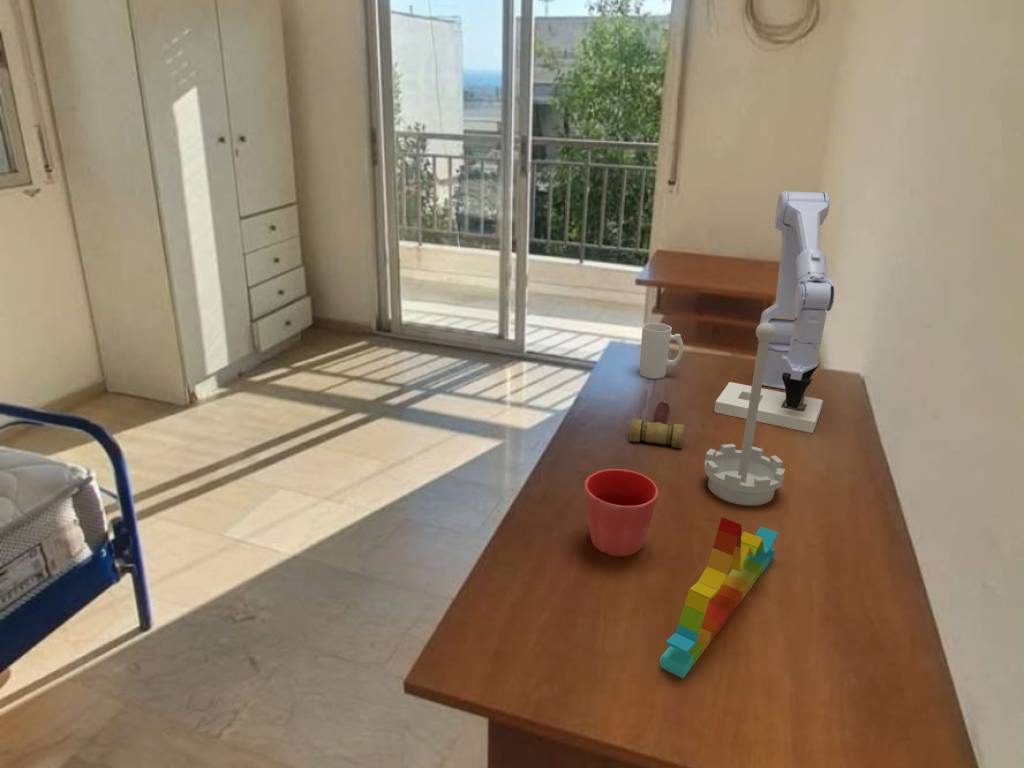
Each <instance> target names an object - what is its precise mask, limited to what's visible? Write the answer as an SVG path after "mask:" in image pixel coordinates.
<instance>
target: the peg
mask: <svg viewBox="0 0 1024 768" xmlns="http://www.w3.org/2000/svg"><path fill="white" fill-rule="evenodd" d="M806 389H807V388H806ZM806 389H805V391H804V393H803V396H802V398H801V401H800V404H799V406H798V408H797V409H796V408H791V407H787V405H786V399H785V406H786V408H788V409H792V410H797V411H800V409H801V408H803V402H804V397H806Z"/></svg>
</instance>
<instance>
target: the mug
mask: <svg viewBox="0 0 1024 768" xmlns="http://www.w3.org/2000/svg"><path fill="white" fill-rule="evenodd" d="M641 330H642V331H641V344H640V358H639V359H640V360H639V374H640V376H642V377H644V378H647V379H652V380H653V379H654V380H655V379H657V380H658V379H662V378H665V377H666V375H667V374H666V373H667V368H668V367H677V365H678V364H679V362H680V360H681V358H682V356H683V354H684V349H685V348H684V343H683V339H682V337H681V334H680V333H675V334H672V326H670V325H668V324H665V323H662V322H661V323H659V322H648V323H644V324H643V325H642V329H641ZM672 341H675V342H676V343H677V345H678V352H677V355H676V357H675V358H674V359H669V349H670V343H671V342H672Z"/></svg>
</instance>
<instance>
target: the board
mask: <svg viewBox="0 0 1024 768" xmlns="http://www.w3.org/2000/svg"><path fill="white" fill-rule="evenodd" d="M751 388H752V385H749V384H747V385H746V384H742V383H738V382H731V381H729V382H728V383H727V385H726V386H725V387H724V389H723V391H722V392H721V393H720V394H719V396H718V397H717V399H716V400H715V402H714V410H713V411H714V413H717V414H721V415H725V416H730V417H736V418H741V419H744V420H747V414H748V407H749V401H750V395H751ZM785 399H786V392H784V391H783V392H782V391H778V390H773V389H768V388H763V387H761V394H760V400H759V406H758V412H757V418H756V422H757V423H764V424H768V425H773V426H777V427H783V428H787V429H791V430H796V431H800V432H804V433H809V434H813V433H814V431H815V429H816V426H817V423H818V420H819V416H820V413H821V412H822V407H823V402H824V400H823V399H820V398H815V397H809V396H805V397H804V402H803V408H801V409H800V411H797V410H792V409H788V408H786V406H785Z"/></svg>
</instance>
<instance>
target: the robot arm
mask: <svg viewBox="0 0 1024 768" xmlns="http://www.w3.org/2000/svg"><path fill="white" fill-rule="evenodd" d="M830 202H831V201H830V196H829V194H828V193H827V192H826V191H825V192H824V191H823V192H813V191H812V192H807V191H805V192H804V191H787V190H783V191H782V192H781V193H780V194H779V196H778V199H777V202H776V208H775V209H776V210H775V220H774V224H775V226H774V227H775V229H777V230H778V231H780V232H781V239H782V240H781V248H780V251H781V252H780V259H779V266H778V268H779V269H778V274H777V275H778V277H777V284H776V286H777V287H776V295H775V303H774V304H772V305H771V306H769V307H767V308H766V309H764V310H763V311H762V313H761V316H760V321H759V324H758V326H759V325H760V324H762V323H770V324H771V325H773V327H774V328H775V335H774V337H773V338H772V339H771V340H769V345H768V351H767V357H766V363H765V369H764V375H763V381H762V386H766V387H770V388H775V389H779V390H785V393H786V405H787V407H791V408H796V409H797V408H798V406H799V404H800V401H801V398H802V396H803V393H804V391H805V389H807V388H808V387H809V386H810V384H811V383H812V381H813V379H812V376H813V374H814V372H815V371H816V370H817V369H818V366H819V361H818V359H819V354H820V349H821V345H822V340H823V333H824V329H825V325H826V324H825V323H826V319H827V312H830V311H831V310H832V308H833V307H834V302H835V285H834V283H833V282H832V278H831V277H829V274H828V265H827V256H826V253H824V252H823V251H821V250H820V241H821V240H820V237H821V236H820V235H821V232H820V230H821V229H820V228H821V226H822V225H823V224H824V222H825V219H827V217H828V215H829V211H830ZM785 318H786V319H785ZM787 318H788V319H787ZM757 339H758V338H757ZM758 341H759V339H758ZM805 392H806V391H805Z"/></svg>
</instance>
